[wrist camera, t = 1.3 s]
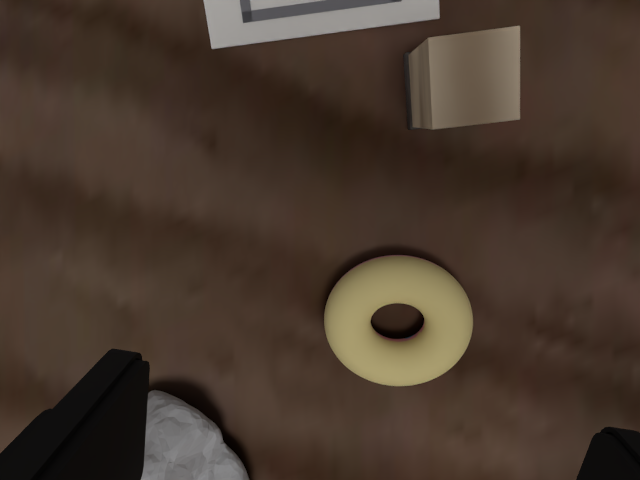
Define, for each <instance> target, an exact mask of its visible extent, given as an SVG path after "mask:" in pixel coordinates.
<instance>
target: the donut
mask: <svg viewBox="0 0 640 480" xmlns="http://www.w3.org/2000/svg"><path fill="white" fill-rule="evenodd" d="M392 303H403V304H408V305H411V306H413V307H415V308H417V309H418V310H419V311H420V312H421V313H422V315H423V317H424V324H423V326H422V328H421V329H420V331H418V332H417V333H416V334H414V335H412V336H410V337H407V338H403V339H392V338H387V337H384V336H382V335H380V334H378V333H377V332H376V331H375V330H374V329H373V327H372V325H371V317H372V315H373V313H374V312H375V311H376V310H377V309H379V308H380V307H382V306H385V305H388V304H392ZM324 327H325V333H326V336H327V339H328V342H329V344H330V347H331V348H332V350H333V352H334V353H335V355H336V356H337V357H338V359H339V360H340V361H341V362H342V363H343V364H344V365H345V366H346V367H347V368H348V369H350V370H351V371H352V372H354V373H355V374H357V375H359V376H360V377H362V378H365V379H367V380H369V381H372V382H375V383H379V384H383V385H390V386H410V385H416V384H420V383H424V382H427V381H430V380H432V379H434V378H436V377H438V376H440V375H442V374H443V373H445V372H446V371H448V370H449V369H450V368H451V367H453V366H454V365H455V364H456V363H457V362H458V360H459V359H460V358H461V357H462V355H463V354H464V352H465V350H466V348H467V347H468V344H469V342H470V339H471V335H472V329H473V314H472V308H471V305H470V302H469V299H468V297H467V295H466V293H465V291H464V289H463V288H462V286H461V285H460V284H459V283H458V281H457V280H456V279H455V278H454V277H453V276H452V275H451V274H449V273H448V272H447V271H446V270H444V269H443V268H441V267H440V266H438V265H436V264H434V263H432V262H430V261H428V260H425V259H422V258H418V257H413V256H407V255H388V256H381V257H377V258H373V259H370V260H367V261H365V262H363V263H361V264H359V265H357V266H355V267H354V268H352V269H351V270H349V271H348V272H347V273H346V274H345V275H344V276H343V277H342V278H341V279H340V280H339V281H338V282H337V283H336V285H335V286H334V288H333V289H332V291H331V293H330V295H329V297H328V300H327V303H326V307H325V313H324Z"/></svg>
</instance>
